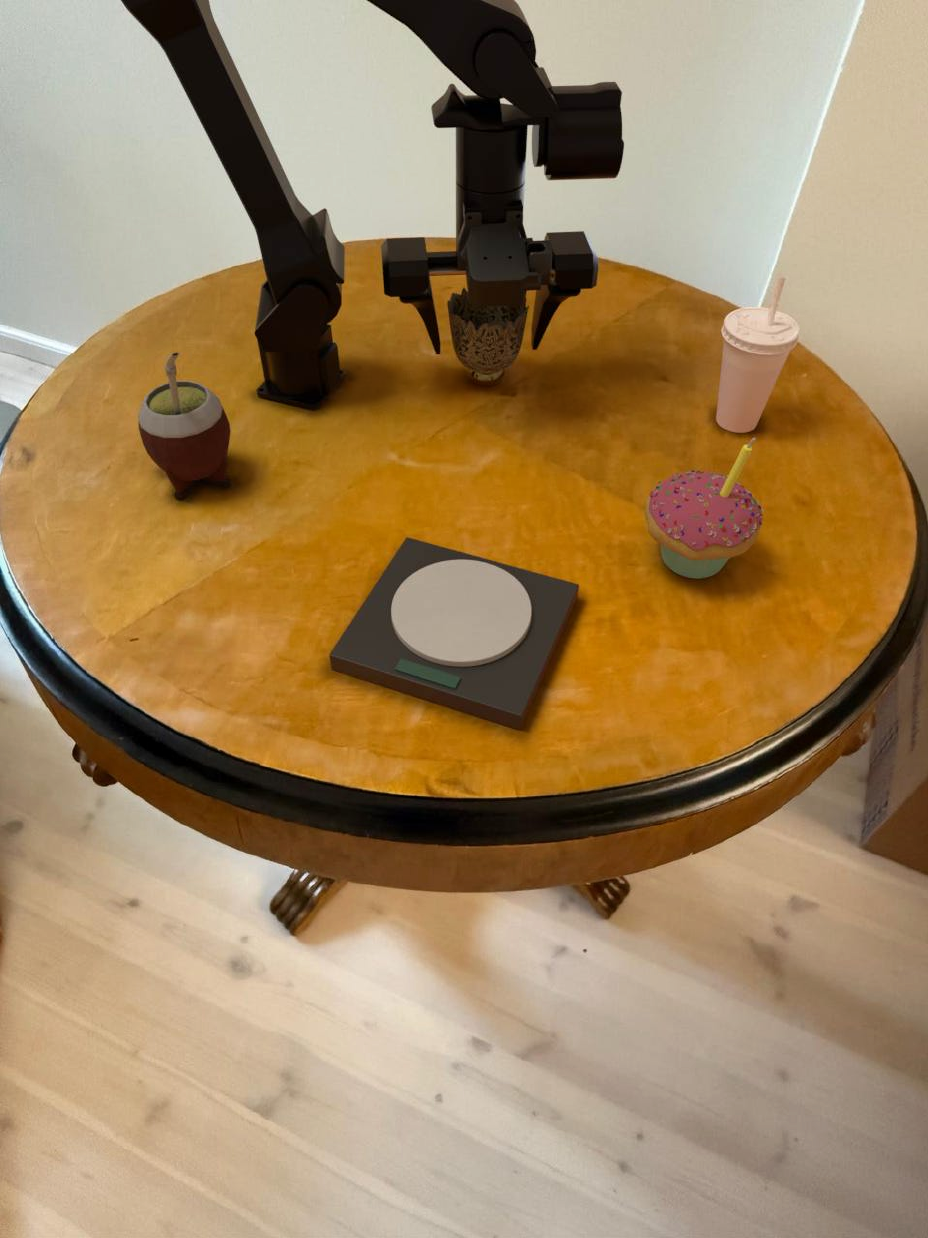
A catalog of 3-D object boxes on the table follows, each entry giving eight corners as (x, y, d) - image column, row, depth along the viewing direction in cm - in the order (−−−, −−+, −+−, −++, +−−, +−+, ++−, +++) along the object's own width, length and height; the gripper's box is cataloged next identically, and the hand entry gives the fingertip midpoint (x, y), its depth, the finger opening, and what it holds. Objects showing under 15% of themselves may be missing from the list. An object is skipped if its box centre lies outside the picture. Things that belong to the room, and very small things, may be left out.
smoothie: (772, 445, 80) (818, 298, 70) (700, 436, 81) (734, 290, 71) (770, 405, 85) (813, 261, 74) (701, 397, 85) (734, 254, 75)
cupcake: (752, 536, 72) (793, 410, 63) (739, 609, 67) (781, 481, 58) (647, 513, 74) (672, 387, 65) (625, 582, 69) (650, 454, 60)
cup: (445, 359, 90) (444, 283, 84) (518, 356, 90) (522, 280, 84) (451, 401, 85) (450, 323, 79) (528, 398, 85) (533, 320, 79)
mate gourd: (186, 446, 80) (142, 286, 69) (263, 465, 78) (231, 304, 67) (136, 496, 75) (81, 333, 64) (217, 518, 73) (175, 354, 62)
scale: (331, 669, 63) (327, 649, 61) (407, 551, 71) (406, 530, 69) (520, 730, 59) (522, 710, 58) (577, 599, 67) (580, 578, 66)
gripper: (379, 226, 68) (391, 403, 79) (622, 217, 69) (599, 392, 81) (375, 168, 75) (386, 337, 87) (594, 161, 77) (577, 329, 88)
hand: (486, 349), depth 85 cm, fingers open, 9 cm apart
